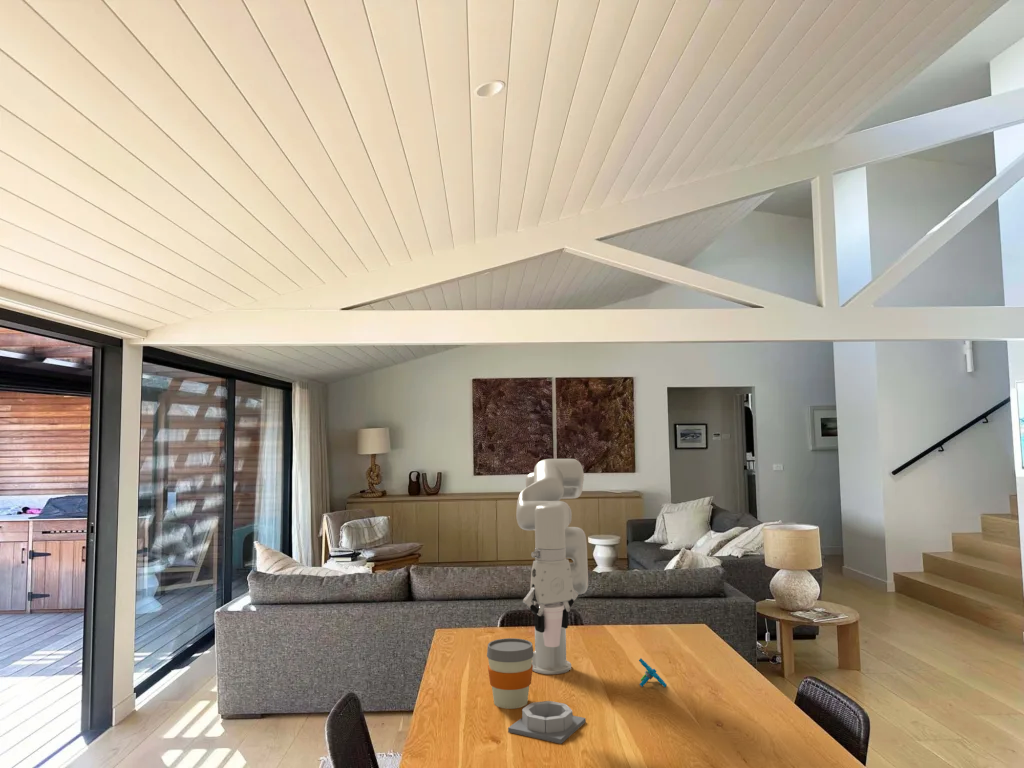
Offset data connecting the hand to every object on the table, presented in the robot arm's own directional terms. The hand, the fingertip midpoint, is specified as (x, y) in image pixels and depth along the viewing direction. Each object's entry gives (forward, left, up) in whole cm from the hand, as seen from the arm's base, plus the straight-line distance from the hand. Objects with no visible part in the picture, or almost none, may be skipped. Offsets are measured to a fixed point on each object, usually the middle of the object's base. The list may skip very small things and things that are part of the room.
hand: (551, 628), depth 172 cm
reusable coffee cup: (-17, +9, -24) cm, 31 cm away
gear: (+12, +39, -24) cm, 47 cm away
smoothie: (0, 0, -4) cm, 4 cm away
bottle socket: (-1, -1, -23) cm, 23 cm away
